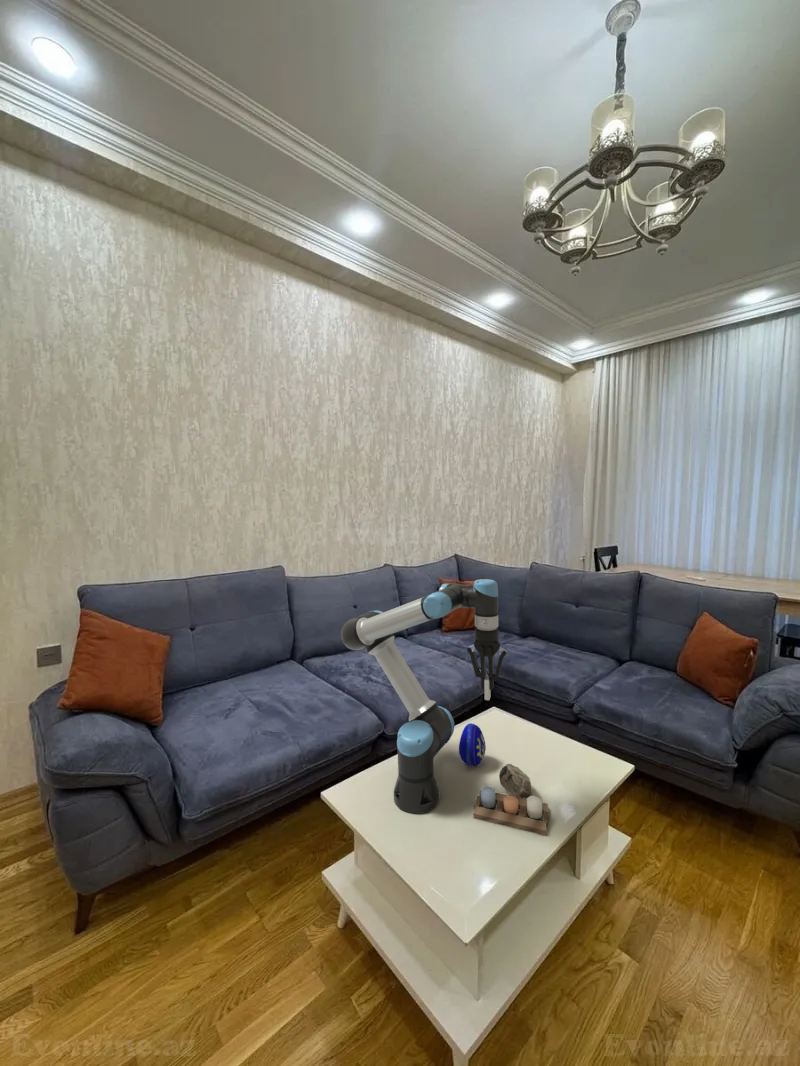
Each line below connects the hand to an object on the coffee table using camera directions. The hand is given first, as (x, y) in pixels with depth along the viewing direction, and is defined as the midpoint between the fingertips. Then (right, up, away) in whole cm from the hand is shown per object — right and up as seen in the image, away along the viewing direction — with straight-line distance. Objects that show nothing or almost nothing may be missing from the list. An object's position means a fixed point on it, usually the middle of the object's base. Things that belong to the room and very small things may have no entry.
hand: (487, 698), depth 140 cm
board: (+6, -33, -8) cm, 34 cm away
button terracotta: (+6, -33, -8) cm, 34 cm away
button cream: (+12, -31, -10) cm, 35 cm away
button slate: (-1, -31, -5) cm, 32 cm away
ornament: (-2, -32, +19) cm, 37 cm away
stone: (+10, -32, +3) cm, 34 cm away
